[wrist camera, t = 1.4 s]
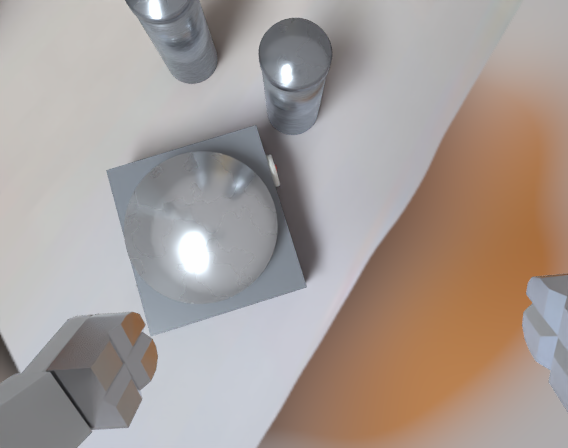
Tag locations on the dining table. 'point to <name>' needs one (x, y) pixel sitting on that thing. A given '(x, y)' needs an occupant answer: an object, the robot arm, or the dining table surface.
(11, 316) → the dining table surface
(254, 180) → the pan
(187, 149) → the scale
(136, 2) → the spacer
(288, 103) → the cylinder
